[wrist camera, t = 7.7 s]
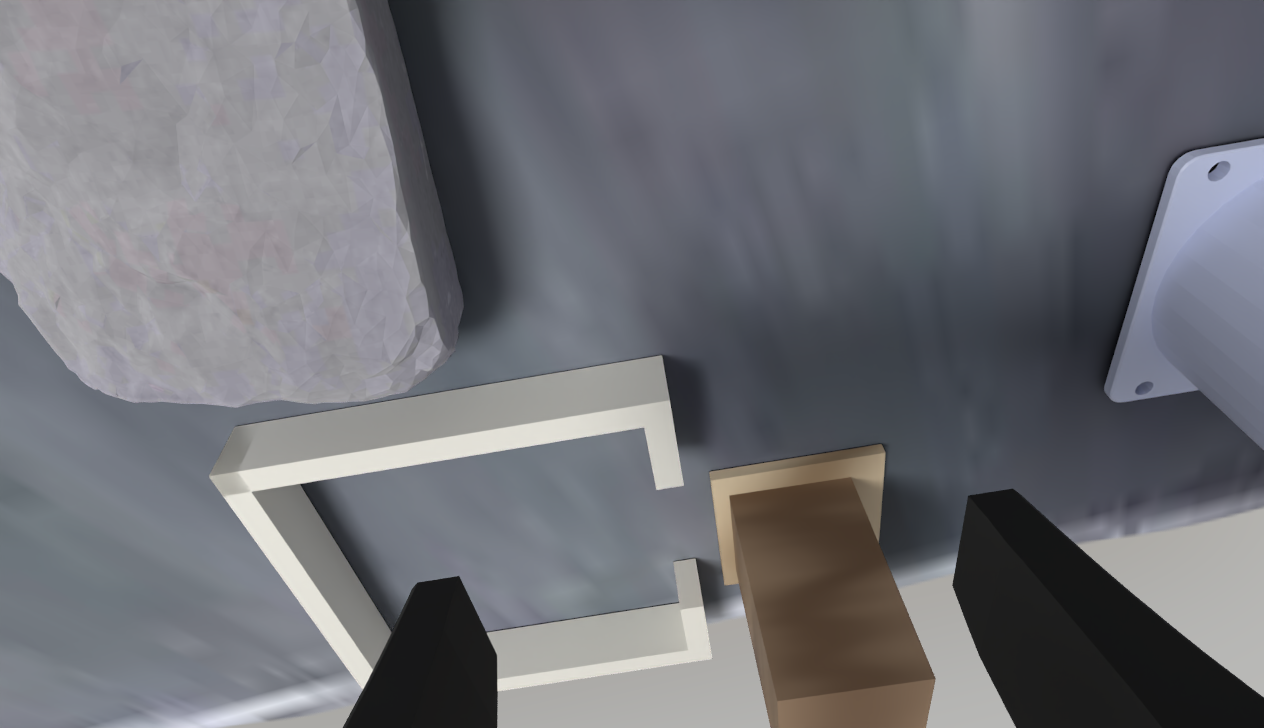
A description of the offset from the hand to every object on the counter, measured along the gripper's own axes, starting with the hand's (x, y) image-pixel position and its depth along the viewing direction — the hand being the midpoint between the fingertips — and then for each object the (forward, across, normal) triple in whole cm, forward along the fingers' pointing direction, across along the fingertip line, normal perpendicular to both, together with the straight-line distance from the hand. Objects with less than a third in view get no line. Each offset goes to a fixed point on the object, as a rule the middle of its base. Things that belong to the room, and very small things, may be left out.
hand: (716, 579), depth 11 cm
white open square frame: (+10, +6, +10) cm, 16 cm away
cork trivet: (+10, -4, +12) cm, 16 cm away
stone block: (+11, +9, -5) cm, 15 cm away
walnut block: (+10, -3, +12) cm, 16 cm away
